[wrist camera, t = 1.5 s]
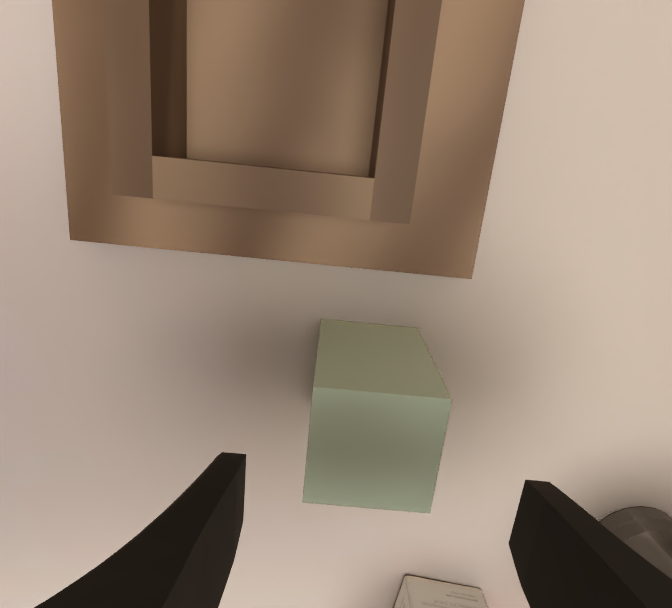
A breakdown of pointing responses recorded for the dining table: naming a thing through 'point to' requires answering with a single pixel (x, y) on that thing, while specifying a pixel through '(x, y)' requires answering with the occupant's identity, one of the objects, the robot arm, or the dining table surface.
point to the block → (375, 419)
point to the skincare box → (437, 595)
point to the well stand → (285, 126)
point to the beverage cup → (645, 534)
